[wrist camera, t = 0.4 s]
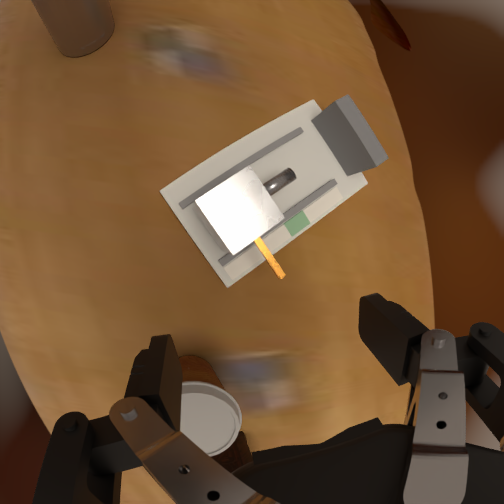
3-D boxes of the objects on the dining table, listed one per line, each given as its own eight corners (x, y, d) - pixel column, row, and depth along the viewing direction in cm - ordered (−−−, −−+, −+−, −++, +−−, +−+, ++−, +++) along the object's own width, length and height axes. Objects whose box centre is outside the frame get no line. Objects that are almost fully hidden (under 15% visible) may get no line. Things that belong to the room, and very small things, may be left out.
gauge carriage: (192, 208, 34) (195, 200, 26) (268, 158, 36) (290, 139, 28) (246, 285, 36) (263, 298, 28) (316, 232, 38) (348, 232, 30)
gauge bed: (160, 192, 34) (153, 180, 26) (310, 102, 38) (336, 77, 30) (226, 286, 37) (238, 300, 29) (363, 184, 40) (398, 175, 32)
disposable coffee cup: (224, 341, 37) (242, 384, 26) (227, 403, 38) (245, 457, 26) (150, 344, 35) (138, 389, 23) (159, 407, 36) (155, 462, 24)
